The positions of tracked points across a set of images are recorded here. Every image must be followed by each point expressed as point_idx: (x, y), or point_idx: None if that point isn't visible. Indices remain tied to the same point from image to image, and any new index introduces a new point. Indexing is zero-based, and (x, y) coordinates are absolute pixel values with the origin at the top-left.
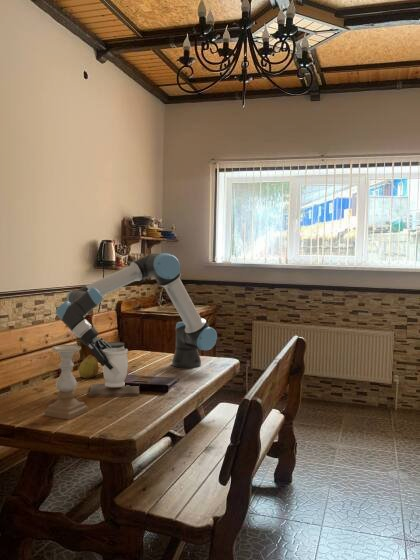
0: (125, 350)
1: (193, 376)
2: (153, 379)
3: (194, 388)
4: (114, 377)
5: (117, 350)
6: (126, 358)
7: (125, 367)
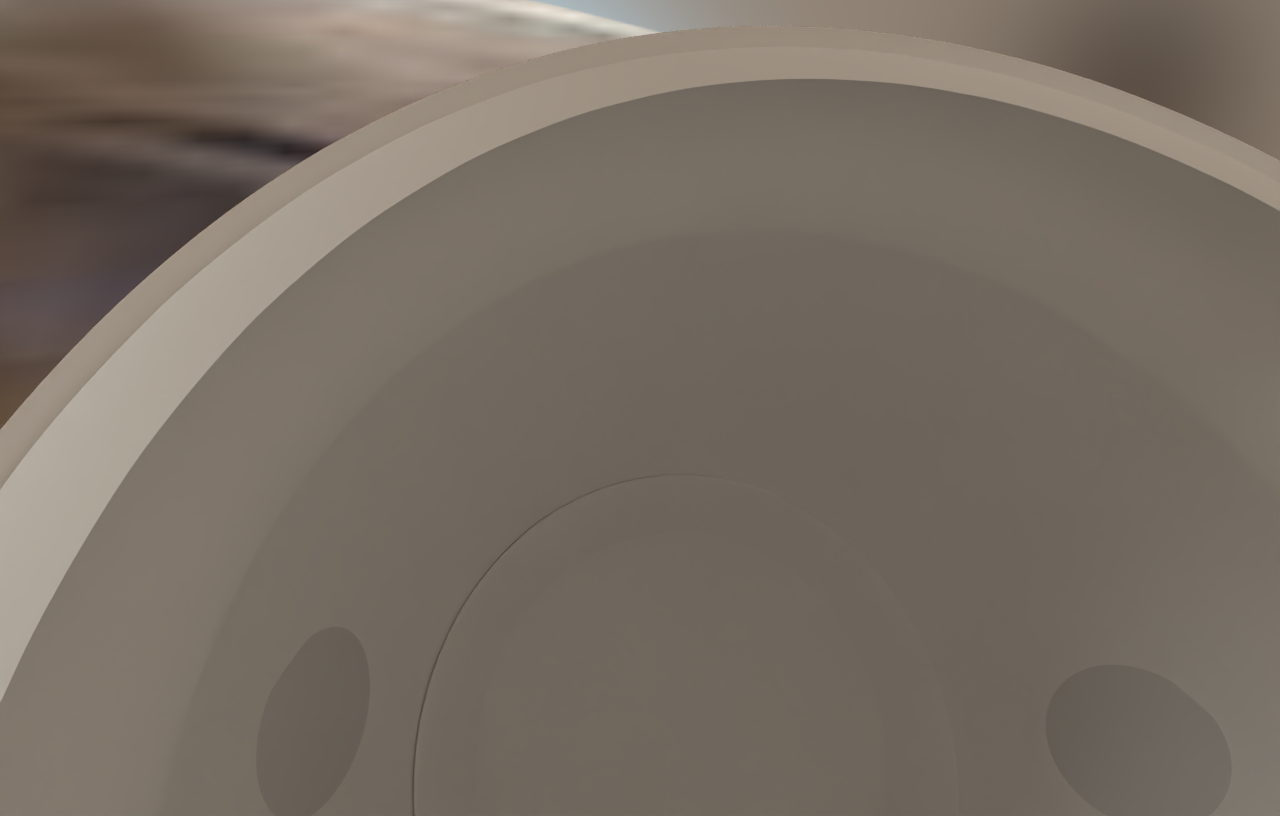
0: (952, 77)
1: (25, 22)
2: (46, 343)
3: (486, 23)
4: (902, 680)
5: (74, 779)
6: (819, 292)
7: (813, 424)
